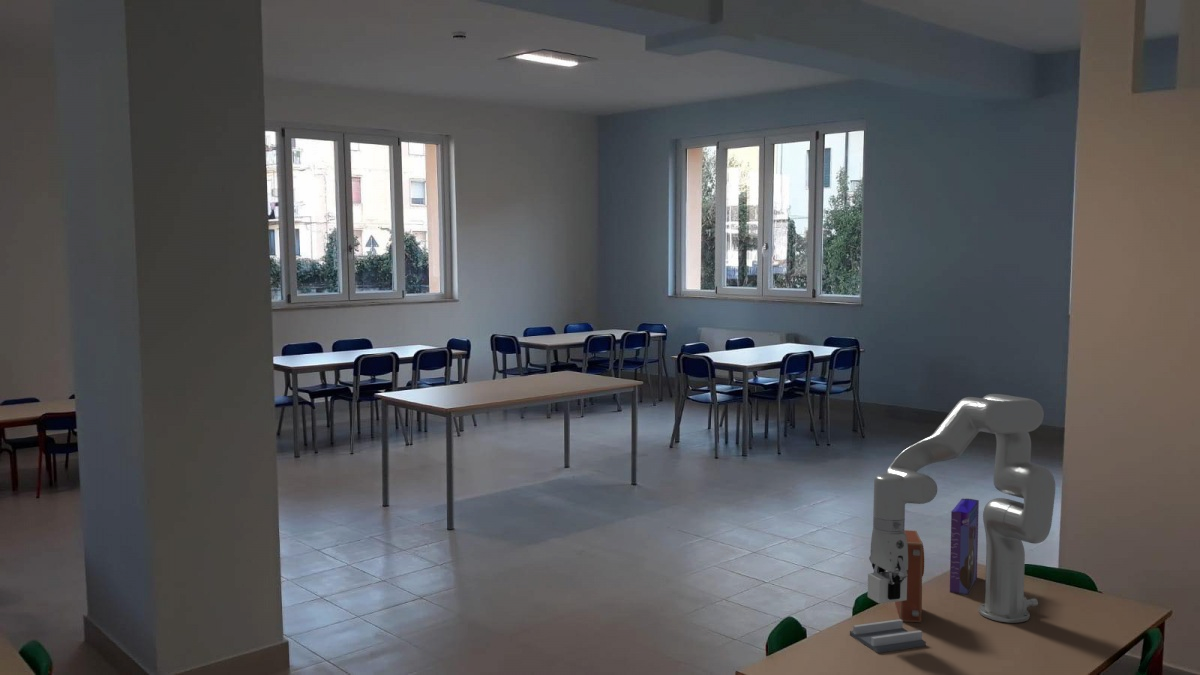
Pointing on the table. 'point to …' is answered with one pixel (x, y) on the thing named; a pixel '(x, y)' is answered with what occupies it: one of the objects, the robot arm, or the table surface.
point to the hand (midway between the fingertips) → (887, 594)
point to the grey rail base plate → (887, 636)
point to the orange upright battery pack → (913, 580)
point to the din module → (884, 587)
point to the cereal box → (964, 546)
